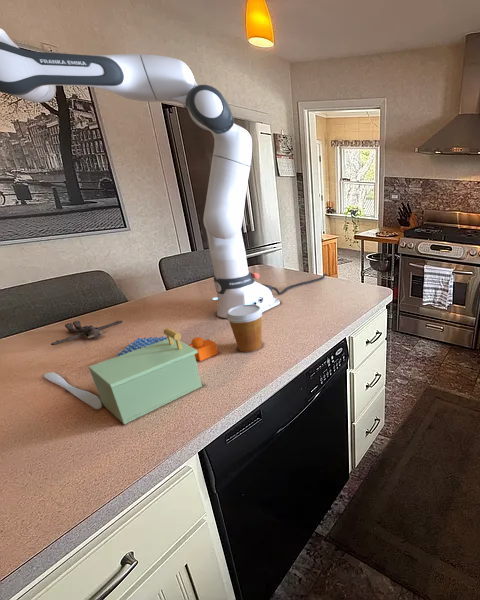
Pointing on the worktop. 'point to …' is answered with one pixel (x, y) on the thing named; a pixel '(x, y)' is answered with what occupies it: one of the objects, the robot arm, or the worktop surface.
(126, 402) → the chest
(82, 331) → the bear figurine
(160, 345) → the lid
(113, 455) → the worktop surface
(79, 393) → the butter knife
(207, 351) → the rubber duck
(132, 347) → the woven mat
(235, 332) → the disposable coffee cup
